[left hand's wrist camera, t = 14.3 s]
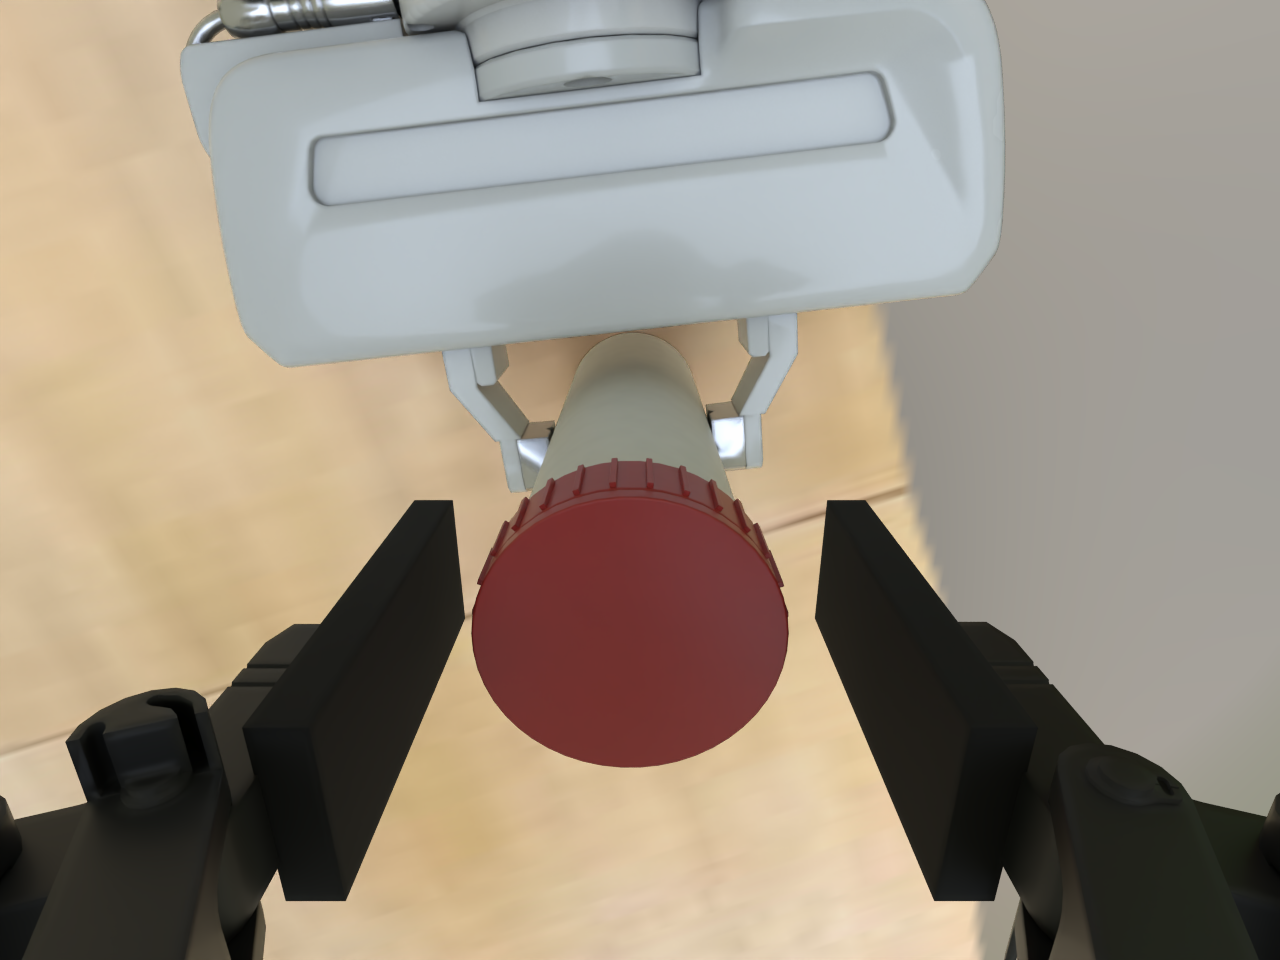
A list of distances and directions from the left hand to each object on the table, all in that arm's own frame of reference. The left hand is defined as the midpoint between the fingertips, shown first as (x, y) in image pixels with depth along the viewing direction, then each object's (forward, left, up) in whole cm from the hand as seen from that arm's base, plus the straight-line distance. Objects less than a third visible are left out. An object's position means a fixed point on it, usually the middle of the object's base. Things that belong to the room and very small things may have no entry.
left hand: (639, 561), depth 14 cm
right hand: (-1, 0, -8) cm, 8 cm away
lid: (0, 0, +2) cm, 2 cm away
